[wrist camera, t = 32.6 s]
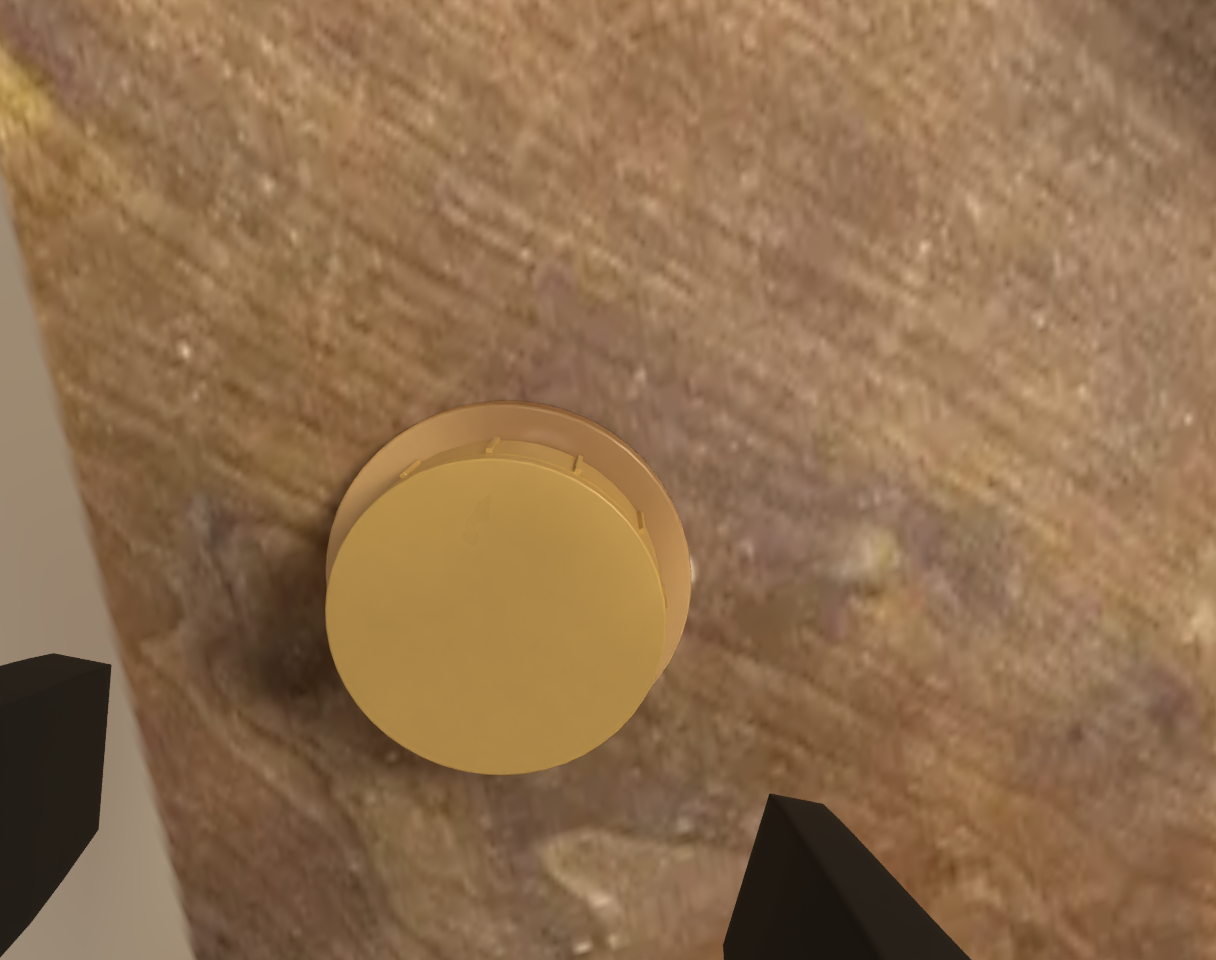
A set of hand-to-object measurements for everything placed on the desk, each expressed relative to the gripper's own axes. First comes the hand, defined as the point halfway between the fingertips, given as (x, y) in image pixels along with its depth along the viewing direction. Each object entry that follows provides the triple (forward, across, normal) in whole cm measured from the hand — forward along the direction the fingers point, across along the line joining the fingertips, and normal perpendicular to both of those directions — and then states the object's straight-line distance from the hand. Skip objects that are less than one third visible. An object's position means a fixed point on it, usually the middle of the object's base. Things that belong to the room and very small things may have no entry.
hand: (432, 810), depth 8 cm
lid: (+5, 0, 0) cm, 5 cm away
